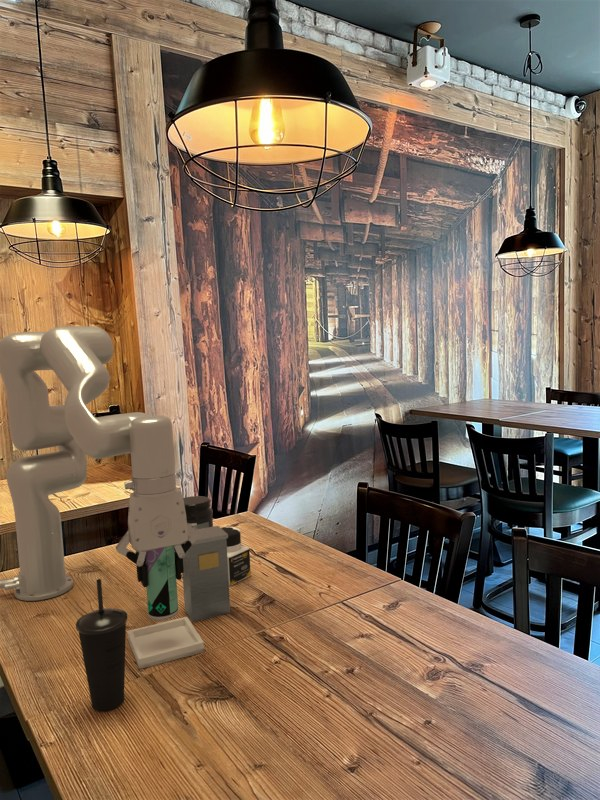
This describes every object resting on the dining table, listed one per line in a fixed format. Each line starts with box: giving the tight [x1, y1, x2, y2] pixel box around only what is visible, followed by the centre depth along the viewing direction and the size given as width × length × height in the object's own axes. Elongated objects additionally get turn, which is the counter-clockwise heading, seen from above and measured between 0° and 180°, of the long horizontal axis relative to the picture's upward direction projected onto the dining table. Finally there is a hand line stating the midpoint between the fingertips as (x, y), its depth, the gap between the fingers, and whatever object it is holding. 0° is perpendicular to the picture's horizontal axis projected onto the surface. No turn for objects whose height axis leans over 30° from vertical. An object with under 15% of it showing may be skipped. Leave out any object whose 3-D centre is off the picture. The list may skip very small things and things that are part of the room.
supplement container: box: [183, 495, 214, 530], centre depth 167 cm, size 10×10×12 cm
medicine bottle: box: [220, 526, 252, 587], centre depth 140 cm, size 7×7×12 cm
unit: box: [182, 525, 231, 623], centre depth 123 cm, size 9×7×17 cm
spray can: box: [144, 529, 179, 622], centre depth 108 cm, size 6×6×20 cm
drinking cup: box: [75, 578, 128, 712], centre depth 92 cm, size 8×8×20 cm
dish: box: [126, 616, 205, 670], centre depth 110 cm, size 12×12×2 cm
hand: (161, 579), depth 109 cm, fingers closed on spray can, 5 cm apart
